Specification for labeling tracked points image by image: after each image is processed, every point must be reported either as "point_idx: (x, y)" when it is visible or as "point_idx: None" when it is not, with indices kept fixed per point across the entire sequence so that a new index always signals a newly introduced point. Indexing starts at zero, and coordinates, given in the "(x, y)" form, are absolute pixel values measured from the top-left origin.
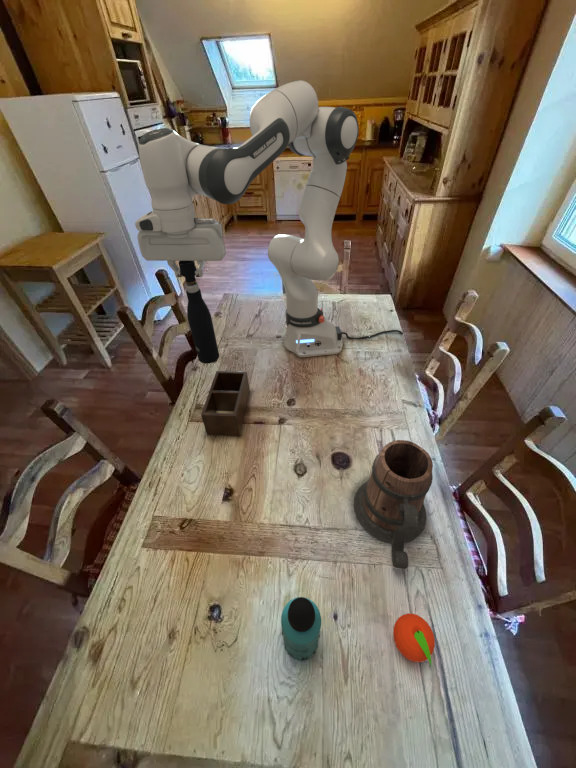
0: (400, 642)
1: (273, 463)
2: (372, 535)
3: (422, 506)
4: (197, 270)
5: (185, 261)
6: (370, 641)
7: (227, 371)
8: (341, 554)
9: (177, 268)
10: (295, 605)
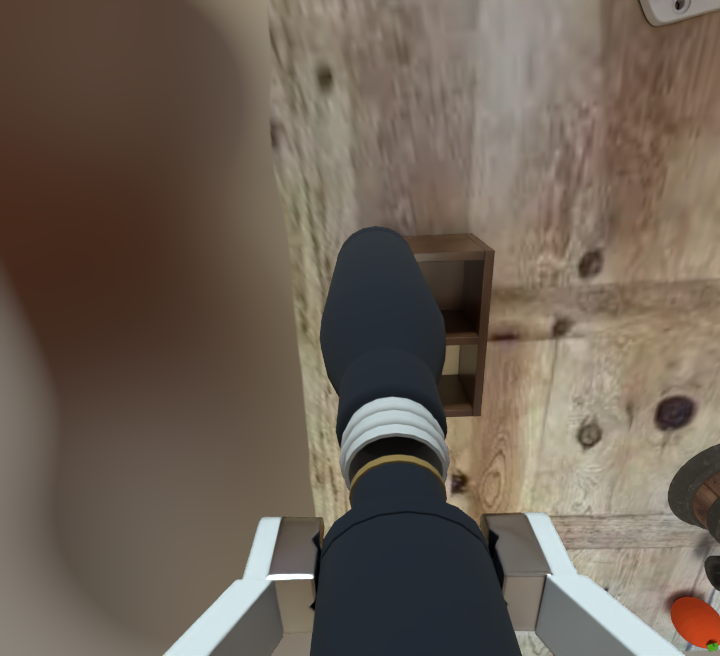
0: (684, 637)
1: (537, 428)
2: (683, 520)
3: None
4: (528, 620)
5: None
6: (639, 602)
7: (428, 255)
8: (630, 541)
9: (271, 611)
10: None
